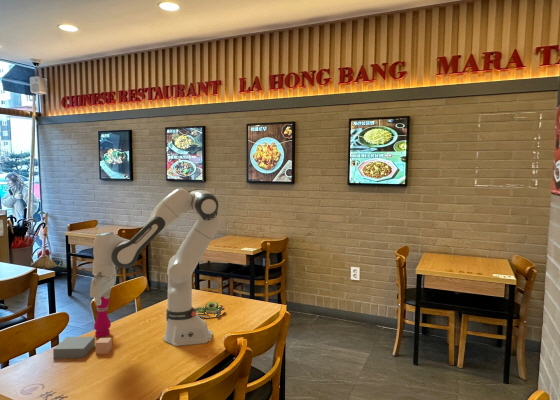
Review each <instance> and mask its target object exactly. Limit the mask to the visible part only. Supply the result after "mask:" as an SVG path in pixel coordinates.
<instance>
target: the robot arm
mask: <svg viewBox="0 0 560 400" xmlns="http://www.w3.org/2000/svg"><path fill="white" fill-rule="evenodd" d="M191 210H192V211H194V212H195V213H197V214H198V215H197V218H196V222H194V224H193V226H192V227H191V229H190V230H189V232H188V233H187V234H186V237H184V239H183V241H182V243H181V244H180V246H179V248H178V250H177V251H176V252H175V254H174V255H173V256H171V257H170V259H169V261H168V266H167V270H166V271H167V272H166V274H167V277H168V278H167V308H166V312H165V313H166V315H165V317H166V328H165V333H164V337H163V340H164V341H165V342H166V343H168V344H171V345H173V346H174V347H179V346H190V345H191V346H192V345H198V344H199V345H200V344H201V343H202V344H208V343H209V342H210V341H211V340H212V339H211V338H213V336H212V335H213V331H212V330H211V329H209V328H208V324H207V322H206V320H204V318H200V317H199V316H197V315H196V308H197V307H193V305H192V303H193V301H192V300H193V296H192V295H193V293H192V292H193V287H192V285H193V280H192V279H193V277H192V276H193V273H194V272H195V270H196V268H197V266H198V264H199V263H200V261H201V259H202V257H203V254H204V253H205V252H206V251H207V248H208V247H209V246H210V244H211V242H212V241H213V239H214V238H215V236H216V234H217V232H218V230H219V228H220V226H221V222H222V220H221V217H220V216H219V214H218V210H219V200H218V198H217V197H216V196H215V195H214V194H213V193H211V192H210V191H208V190H205V189H202V188H195V189H193V190H187V189H185V188H182V187H180V188H176V189H174V190H172V191H171V192H170V193H168V194H167V195H166V196H165V197H163V199H161V200H160V201H159V202H158V203H157V205H156V206H155V207H154V208H153V209H152V211H151V213H150V216H149V217H148V220H147V221H146V223H145V224H144V226H143V227H141V229H140V230H139V231H138V232H137V233H136V234H135V235H134V236H133V237H132V238H131V239H127V238H123V237H122V236H119V235H117V234H116V233H115V232H113V231H107V232H102V233H99V234H97V235H96V236H95V238H94V240H93V249H92V254H93V255H92V256H93V261H92V275H93V276H94V277H93V278H92V279H91V281H90V286H89V296H90V298H93V299H94V300H95V302H96V304H95V306H96V307H97V306H99V305H101V299H100V298H101V295H102V294H104V298H105V299H109V298H110V296H111V295H110V294H111V291H112V287H114V286H115V285H116V282H117V270H118V269H130V268H131V267H133V266H134V265H136V263H137V261H138V259H139V256H140V254H141V252H142V251H143V250H144V249H145V248H146V247H147V246H148V245H149V244H150V243H151V242H152V241H153V240H154V239H155V238H156V237H157V236H158V235H159V234H160V233H162V232H163V231H165V230H166V229H167V228H169V227H170V226H172V225H173V224H174V223H176V222H177V221H178V220H179V218H181V217H182V216H183V214H184V213H186V212H188V211H191ZM209 340H210V341H209ZM208 341H209V342H208ZM207 342H208V343H207ZM202 344H201V345H202Z"/></svg>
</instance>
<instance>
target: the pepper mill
mask: <svg viewBox="0 0 560 400" xmlns="http://www.w3.org/2000/svg"><path fill="white" fill-rule="evenodd" d="M104 294H105V293H104ZM104 294H102V295H101V298H100V299H101V305H99V306H96V311H97V316H96V319H95V321H94V325H93V329H94V330H95V334H94V337H95V338H106V337H107V336H110V333H111V332H110V331H111V330H110V328H111V326H112V325H111V320H110V318H109V316H108V310H109V304H110V299H109V298H108V299H105V298H104ZM95 305H96V301H95Z"/></svg>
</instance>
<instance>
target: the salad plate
mask: <svg viewBox="0 0 560 400" xmlns="http://www.w3.org/2000/svg"><path fill="white" fill-rule="evenodd" d="M218 306H221V307H219V308H218ZM202 307H203V308H202ZM204 307H205V308H204ZM222 307H223V308H224V306H223V305H222V304H221V305H219V303H218V301H217V302H216V301H210V302H209V301H208V302H207V303H205V306H198V307H195V308H196V313H205V312H206V313H207V314H214V315H215V314H217V315H216V317H215V318H219V317H221V316H220V314H221V311H222V309H223V308H222ZM218 309H219V310H218ZM196 315H197V314H196ZM197 316H198V317H210V316H208V315H201V314H199V315H197Z"/></svg>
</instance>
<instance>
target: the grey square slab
mask: <svg viewBox="0 0 560 400" xmlns="http://www.w3.org/2000/svg"><path fill="white" fill-rule="evenodd" d="M94 347H96V336H67V337H65V338H63V340H62V341H60V342H59V343H58V344H57V345H56V346H55V347H54V348H53V351H52V352H53V353H52V354H53V359H83V358H85V357H86V356H87V355H88V354H89V353H90V351H91V350H92V349H93V348H94Z"/></svg>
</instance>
